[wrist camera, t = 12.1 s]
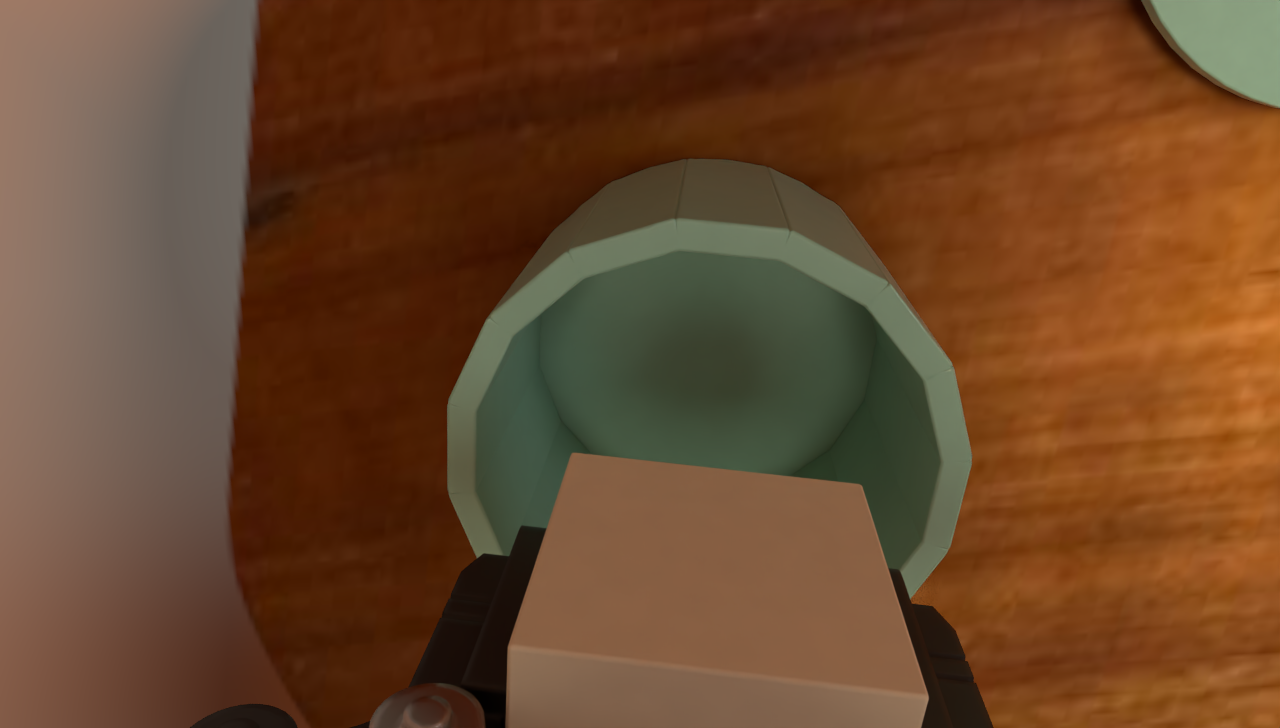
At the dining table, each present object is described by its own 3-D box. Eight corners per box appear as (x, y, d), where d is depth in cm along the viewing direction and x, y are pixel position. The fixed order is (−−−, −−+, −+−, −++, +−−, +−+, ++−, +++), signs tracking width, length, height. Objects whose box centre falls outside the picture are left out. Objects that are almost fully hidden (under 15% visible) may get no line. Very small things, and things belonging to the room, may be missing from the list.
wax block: (558, 678, 15) (498, 930, 11) (571, 450, 13) (506, 646, 9) (816, 710, 15) (855, 978, 10) (862, 483, 13) (931, 697, 9)
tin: (517, 485, 26) (446, 653, 19) (528, 140, 22) (445, 194, 15) (856, 523, 26) (909, 709, 19) (928, 178, 22) (1028, 252, 15)
